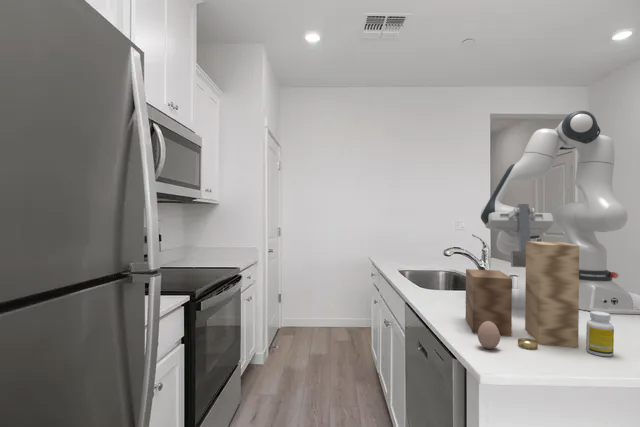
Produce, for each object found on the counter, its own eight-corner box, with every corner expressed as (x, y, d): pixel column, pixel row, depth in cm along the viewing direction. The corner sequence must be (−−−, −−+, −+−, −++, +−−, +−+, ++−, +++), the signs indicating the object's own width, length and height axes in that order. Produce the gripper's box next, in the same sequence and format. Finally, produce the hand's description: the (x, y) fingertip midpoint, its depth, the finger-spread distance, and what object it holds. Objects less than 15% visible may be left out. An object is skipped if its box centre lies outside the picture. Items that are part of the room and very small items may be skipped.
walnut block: (498, 320, 121) (499, 270, 121) (511, 336, 105) (512, 278, 105) (465, 318, 123) (466, 269, 123) (472, 333, 108) (473, 276, 108)
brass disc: (534, 345, 99) (534, 338, 99) (540, 351, 94) (540, 344, 94) (516, 344, 100) (516, 337, 100) (520, 349, 96) (520, 342, 96)
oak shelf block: (559, 332, 110) (560, 242, 110) (578, 347, 97) (579, 245, 97) (525, 329, 112) (525, 241, 112) (539, 344, 99) (540, 244, 99)
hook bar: (508, 206, 132) (510, 204, 129) (534, 206, 130) (536, 204, 127) (511, 266, 128) (513, 266, 125) (537, 267, 126) (540, 267, 123)
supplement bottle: (618, 358, 90) (618, 316, 90) (592, 356, 91) (593, 315, 91) (606, 350, 95) (606, 311, 95) (582, 348, 96) (582, 309, 97)
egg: (498, 353, 92) (498, 325, 92) (475, 349, 95) (476, 322, 95) (501, 347, 96) (501, 320, 96) (479, 343, 99) (479, 317, 99)
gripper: (483, 221, 143) (490, 201, 131) (544, 222, 138) (556, 202, 126) (485, 236, 140) (491, 217, 128) (547, 237, 135) (560, 218, 123)
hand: (524, 209), depth 127 cm, fingers closed on hook bar, 3 cm apart
